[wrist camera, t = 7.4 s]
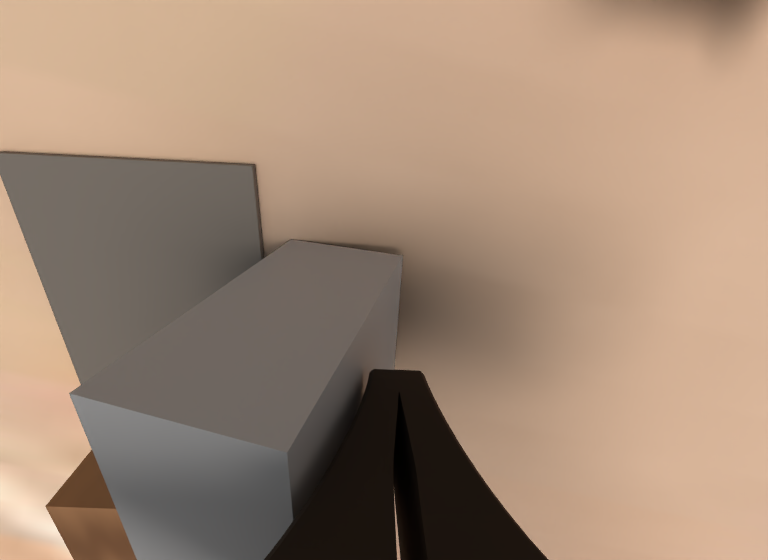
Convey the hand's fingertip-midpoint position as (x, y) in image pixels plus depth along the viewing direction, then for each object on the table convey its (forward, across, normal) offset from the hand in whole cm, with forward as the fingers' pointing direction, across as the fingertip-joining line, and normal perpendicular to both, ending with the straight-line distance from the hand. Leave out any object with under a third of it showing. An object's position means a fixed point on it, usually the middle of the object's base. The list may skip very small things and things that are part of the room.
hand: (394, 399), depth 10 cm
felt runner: (+5, +9, +4) cm, 11 cm away
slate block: (+4, +2, 0) cm, 5 cm away
